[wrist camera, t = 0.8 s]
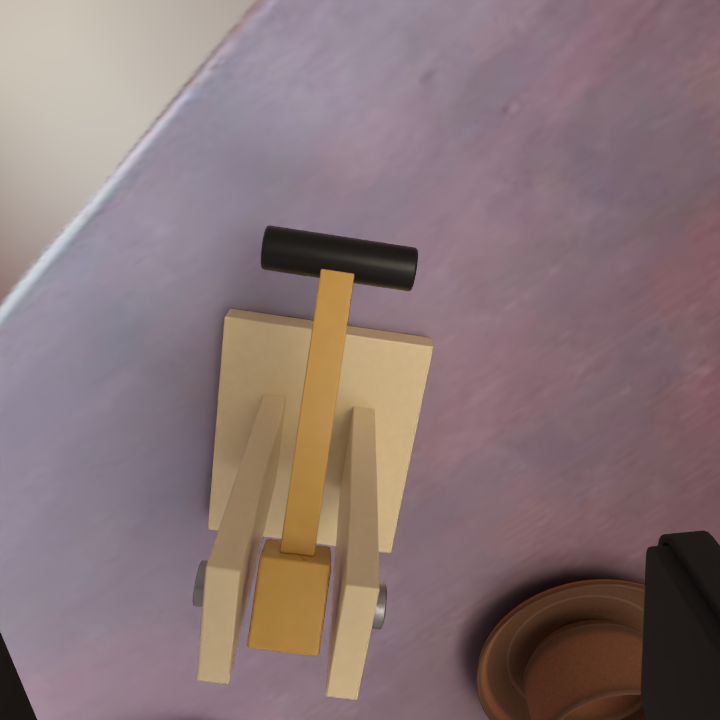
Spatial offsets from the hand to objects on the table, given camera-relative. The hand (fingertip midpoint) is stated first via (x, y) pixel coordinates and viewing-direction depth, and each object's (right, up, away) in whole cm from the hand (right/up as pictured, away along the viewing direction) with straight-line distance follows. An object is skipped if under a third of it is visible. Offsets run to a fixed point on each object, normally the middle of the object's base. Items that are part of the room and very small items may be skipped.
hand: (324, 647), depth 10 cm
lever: (-1, +2, +13) cm, 14 cm away
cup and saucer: (+13, -12, +27) cm, 32 cm away
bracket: (-2, +1, +22) cm, 22 cm away
